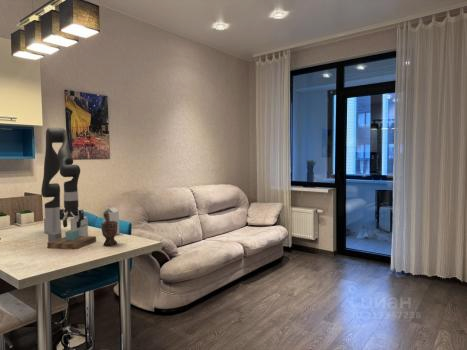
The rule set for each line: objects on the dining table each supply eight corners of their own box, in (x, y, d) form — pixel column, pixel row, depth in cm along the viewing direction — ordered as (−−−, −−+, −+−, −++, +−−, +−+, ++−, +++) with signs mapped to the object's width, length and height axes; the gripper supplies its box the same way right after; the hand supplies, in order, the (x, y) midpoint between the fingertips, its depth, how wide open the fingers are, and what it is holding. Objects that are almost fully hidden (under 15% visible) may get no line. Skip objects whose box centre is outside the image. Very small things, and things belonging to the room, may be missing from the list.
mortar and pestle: (119, 246, 185) (118, 211, 184) (103, 248, 181) (102, 212, 180) (116, 242, 195) (115, 208, 194) (101, 244, 191) (100, 209, 190)
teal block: (65, 240, 189) (65, 231, 188) (71, 238, 193) (71, 229, 193) (73, 240, 188) (73, 232, 187) (79, 238, 192) (78, 230, 192)
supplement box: (81, 238, 206) (80, 218, 205) (70, 238, 207) (69, 218, 207) (88, 235, 213) (87, 216, 212) (78, 235, 215) (77, 216, 214)
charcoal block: (48, 242, 197) (48, 234, 197) (54, 240, 202) (54, 232, 202) (55, 242, 196) (55, 234, 196) (61, 240, 201) (61, 232, 201)
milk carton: (119, 233, 219) (118, 204, 218) (114, 235, 212) (113, 206, 211) (109, 233, 219) (108, 204, 218) (103, 235, 212) (102, 206, 211)
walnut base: (47, 248, 184) (47, 242, 184) (69, 240, 201) (69, 235, 201) (75, 249, 180) (75, 244, 180) (96, 241, 198) (95, 236, 197)
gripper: (55, 200, 187) (56, 228, 188) (77, 200, 184) (78, 229, 185) (64, 198, 195) (65, 225, 196) (86, 198, 192) (87, 226, 193)
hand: (72, 227), depth 190 cm, fingers open, 8 cm apart
